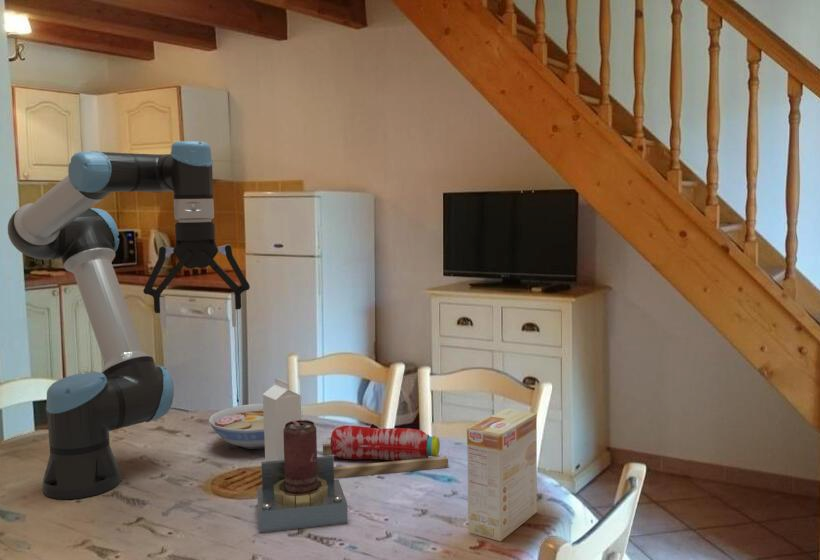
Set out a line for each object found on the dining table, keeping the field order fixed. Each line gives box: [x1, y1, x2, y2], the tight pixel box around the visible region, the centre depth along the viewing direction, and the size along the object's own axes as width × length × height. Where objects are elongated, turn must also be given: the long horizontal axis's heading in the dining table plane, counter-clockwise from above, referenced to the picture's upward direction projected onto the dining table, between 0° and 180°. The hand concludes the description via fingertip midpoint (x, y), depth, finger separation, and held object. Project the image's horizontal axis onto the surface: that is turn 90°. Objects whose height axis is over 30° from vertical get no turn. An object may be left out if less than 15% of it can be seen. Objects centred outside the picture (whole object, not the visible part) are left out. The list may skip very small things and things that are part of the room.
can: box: [283, 419, 318, 494], centre depth 141 cm, size 6×6×14 cm
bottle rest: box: [322, 435, 449, 479], centre depth 173 cm, size 26×18×2 cm
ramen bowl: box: [208, 403, 304, 450], centre depth 185 cm, size 25×23×8 cm
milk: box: [262, 377, 302, 462], centre depth 160 cm, size 6×6×22 cm
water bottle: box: [329, 423, 441, 462], centre depth 174 cm, size 12×8×25 cm
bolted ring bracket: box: [256, 455, 348, 534], centre depth 143 cm, size 16×12×9 cm
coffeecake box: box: [466, 407, 538, 542], centre depth 137 cm, size 15×7×20 cm, turn 145°
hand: (199, 327), depth 150 cm, fingers open, 13 cm apart
